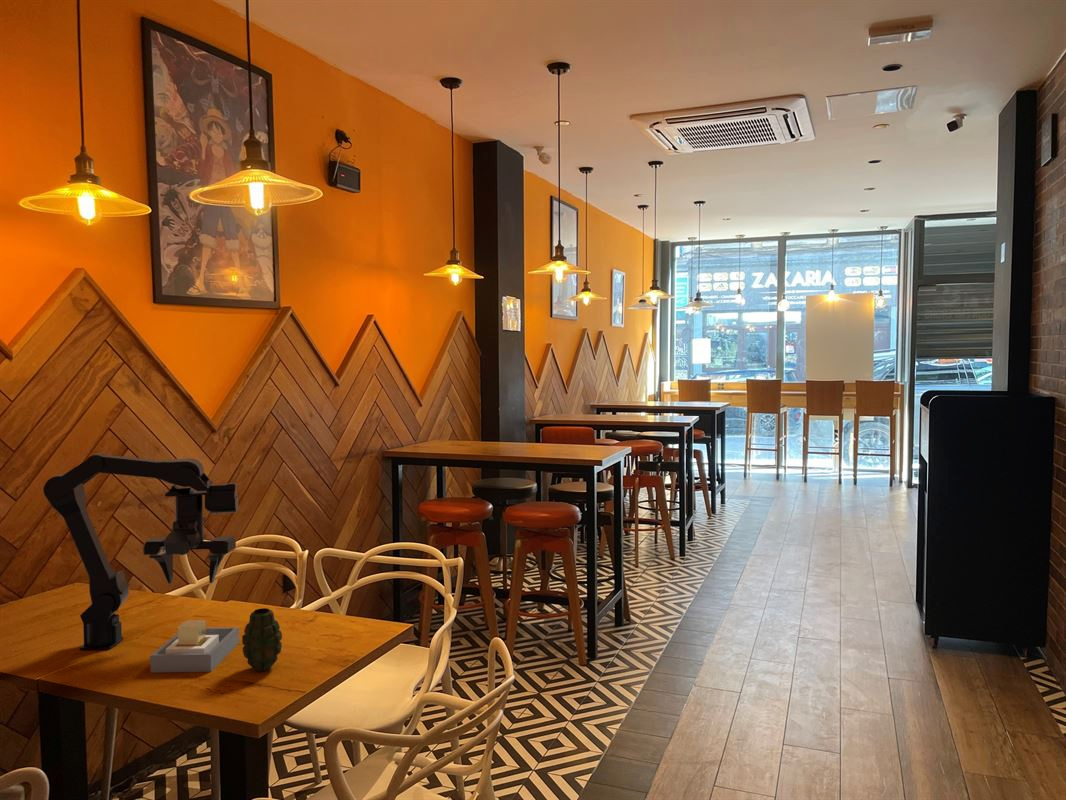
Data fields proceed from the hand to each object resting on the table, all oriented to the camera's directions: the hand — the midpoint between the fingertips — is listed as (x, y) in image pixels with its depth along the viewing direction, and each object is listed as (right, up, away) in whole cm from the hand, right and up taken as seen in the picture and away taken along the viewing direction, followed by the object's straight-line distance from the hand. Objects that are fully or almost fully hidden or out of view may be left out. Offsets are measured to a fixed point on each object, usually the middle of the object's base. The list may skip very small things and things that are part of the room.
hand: (190, 582), depth 171 cm
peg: (+6, -13, -13) cm, 20 cm away
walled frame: (+6, -13, -11) cm, 18 cm away
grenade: (+23, -13, -18) cm, 32 cm away
